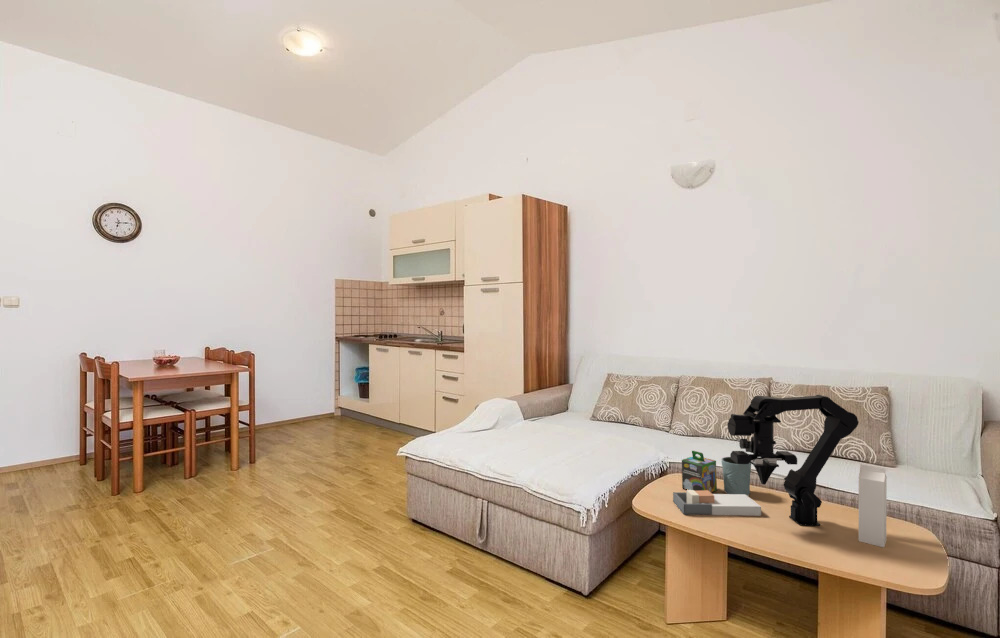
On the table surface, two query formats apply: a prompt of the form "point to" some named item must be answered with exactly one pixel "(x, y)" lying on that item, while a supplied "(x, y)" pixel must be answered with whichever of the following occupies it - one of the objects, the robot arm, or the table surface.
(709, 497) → the tile
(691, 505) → the tray
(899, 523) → the table surface
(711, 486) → the chalk box
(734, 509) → the board
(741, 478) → the grey-blue cup
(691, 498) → the tile
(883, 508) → the milk
